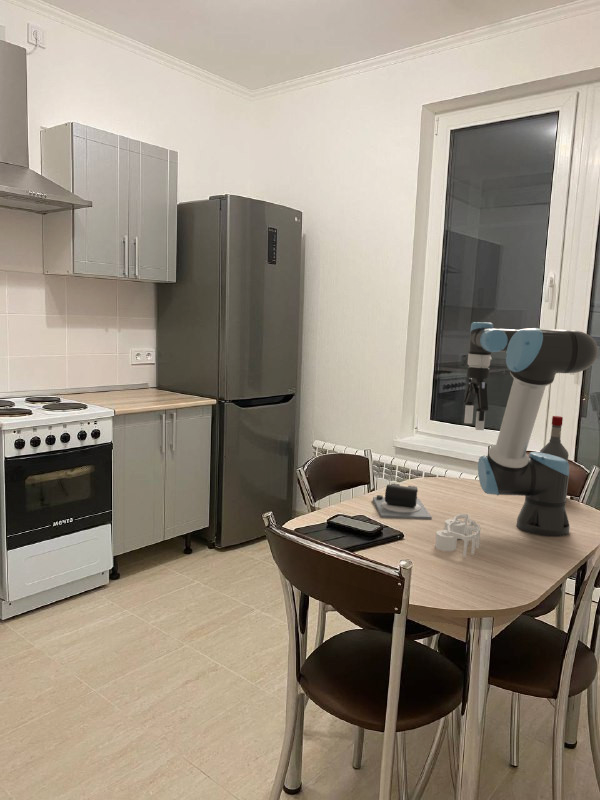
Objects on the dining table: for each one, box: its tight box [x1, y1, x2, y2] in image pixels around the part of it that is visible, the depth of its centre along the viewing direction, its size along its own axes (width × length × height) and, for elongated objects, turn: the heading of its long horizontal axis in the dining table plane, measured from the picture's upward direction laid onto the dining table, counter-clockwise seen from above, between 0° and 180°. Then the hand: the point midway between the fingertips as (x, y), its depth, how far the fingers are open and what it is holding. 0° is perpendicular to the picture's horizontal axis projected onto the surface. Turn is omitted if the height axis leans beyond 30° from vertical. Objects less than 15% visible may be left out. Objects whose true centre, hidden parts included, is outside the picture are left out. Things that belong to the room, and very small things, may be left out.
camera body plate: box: [372, 494, 433, 520], centre depth 207 cm, size 20×16×2 cm
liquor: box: [539, 415, 569, 463], centre depth 232 cm, size 9×9×30 cm
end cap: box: [384, 483, 419, 508], centre depth 206 cm, size 10×7×7 cm
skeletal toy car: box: [434, 513, 481, 558], centre depth 174 cm, size 20×11×7 cm, turn 155°
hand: (473, 426), depth 220 cm, fingers open, 13 cm apart
